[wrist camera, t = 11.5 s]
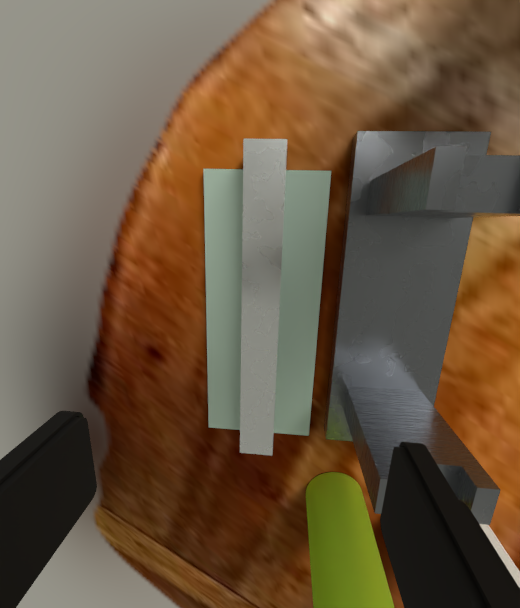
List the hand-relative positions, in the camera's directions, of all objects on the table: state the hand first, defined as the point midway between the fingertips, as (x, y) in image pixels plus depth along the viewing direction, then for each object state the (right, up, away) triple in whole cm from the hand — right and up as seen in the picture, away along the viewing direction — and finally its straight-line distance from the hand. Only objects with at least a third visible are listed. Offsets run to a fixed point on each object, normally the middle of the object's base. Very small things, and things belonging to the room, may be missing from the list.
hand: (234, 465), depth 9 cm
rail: (+1, +4, +17) cm, 18 cm away
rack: (+12, +5, +17) cm, 21 cm away
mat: (+1, +4, +18) cm, 18 cm away
